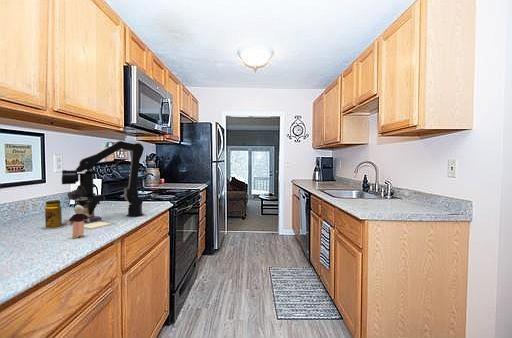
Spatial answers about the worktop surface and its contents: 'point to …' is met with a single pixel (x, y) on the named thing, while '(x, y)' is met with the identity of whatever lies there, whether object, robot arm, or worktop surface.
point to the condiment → (53, 215)
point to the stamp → (87, 212)
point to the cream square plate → (97, 225)
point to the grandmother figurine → (78, 222)
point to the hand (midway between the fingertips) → (87, 214)
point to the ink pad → (92, 219)
